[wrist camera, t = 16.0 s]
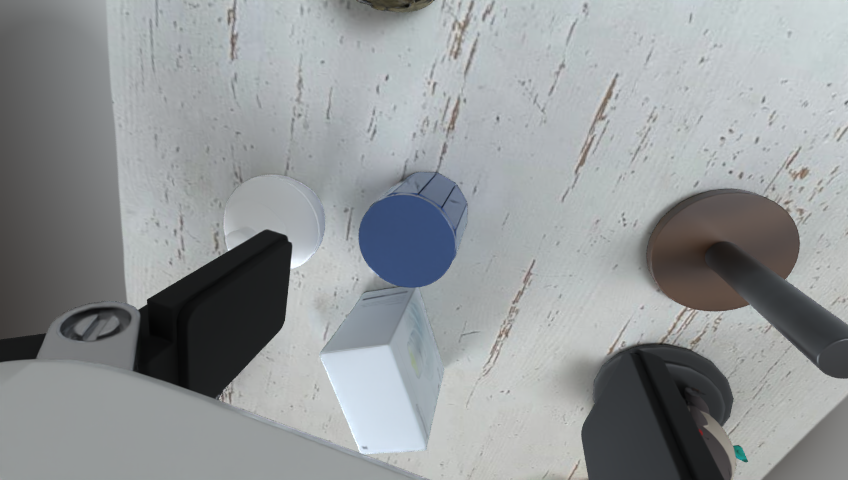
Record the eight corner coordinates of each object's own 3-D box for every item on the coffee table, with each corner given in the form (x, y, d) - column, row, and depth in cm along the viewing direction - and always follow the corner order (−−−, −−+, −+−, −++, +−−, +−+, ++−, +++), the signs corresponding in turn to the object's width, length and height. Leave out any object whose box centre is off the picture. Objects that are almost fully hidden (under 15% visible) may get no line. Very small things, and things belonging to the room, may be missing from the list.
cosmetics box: (448, 369, 42) (428, 454, 32) (392, 375, 44) (357, 456, 34) (420, 281, 39) (389, 345, 29) (361, 291, 40) (313, 354, 31)
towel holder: (626, 224, 33) (697, 314, 20) (764, 164, 29) (959, 226, 16) (673, 320, 35) (765, 457, 22) (808, 275, 31) (1011, 407, 18)
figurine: (657, 460, 40) (709, 595, 29) (565, 390, 40) (584, 503, 29) (760, 398, 35) (865, 533, 25) (657, 318, 35) (720, 421, 24)
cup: (375, 196, 36) (339, 223, 29) (441, 156, 34) (420, 176, 27) (415, 260, 38) (392, 302, 31) (482, 227, 35) (473, 264, 28)
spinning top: (265, 189, 39) (166, 230, 28) (318, 142, 36) (231, 166, 25) (316, 250, 40) (240, 312, 29) (371, 210, 37) (310, 261, 26)
